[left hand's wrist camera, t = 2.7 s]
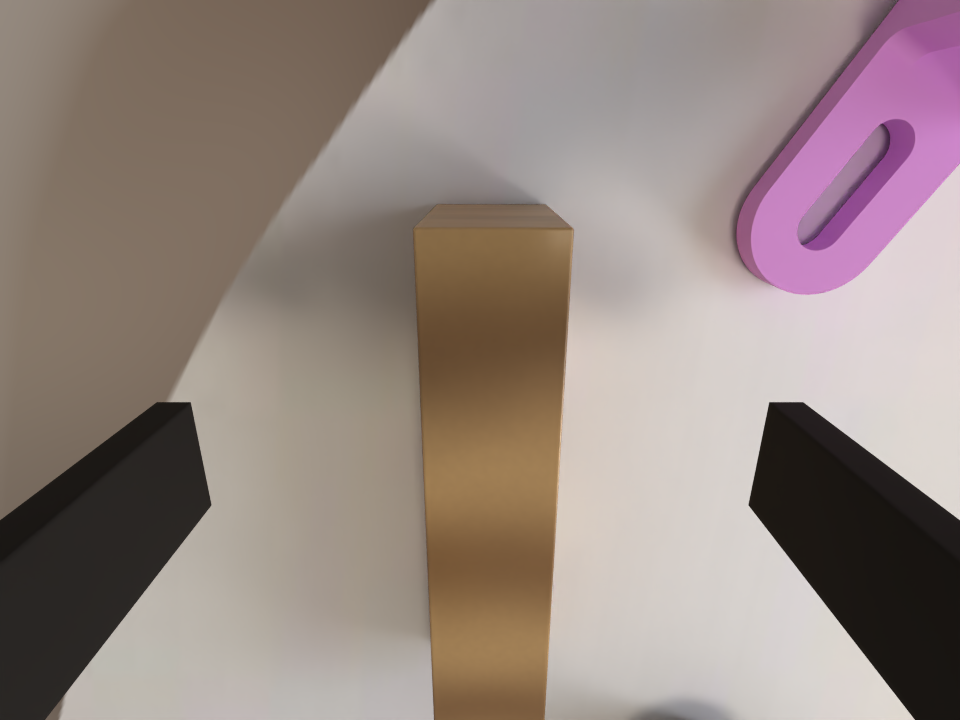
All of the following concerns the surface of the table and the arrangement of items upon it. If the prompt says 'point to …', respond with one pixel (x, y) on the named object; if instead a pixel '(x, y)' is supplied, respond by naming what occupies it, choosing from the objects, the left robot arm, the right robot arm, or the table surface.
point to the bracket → (839, 134)
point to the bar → (491, 447)
